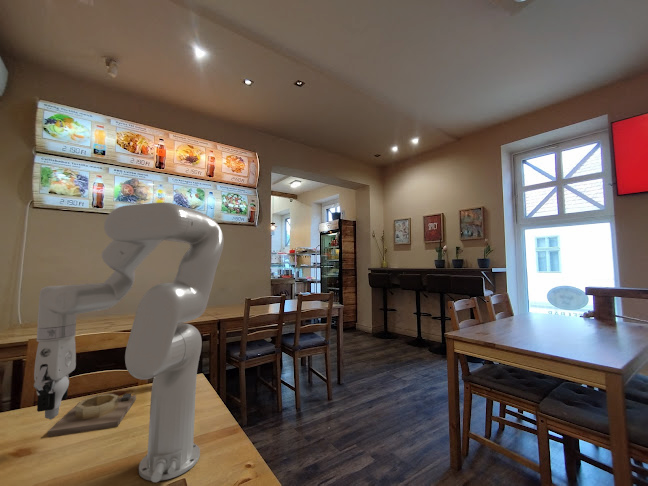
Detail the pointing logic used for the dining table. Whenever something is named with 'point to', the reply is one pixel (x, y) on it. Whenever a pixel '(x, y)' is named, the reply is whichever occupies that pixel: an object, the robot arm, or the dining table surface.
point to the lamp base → (92, 419)
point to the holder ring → (96, 406)
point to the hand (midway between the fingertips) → (52, 404)
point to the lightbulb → (57, 395)
